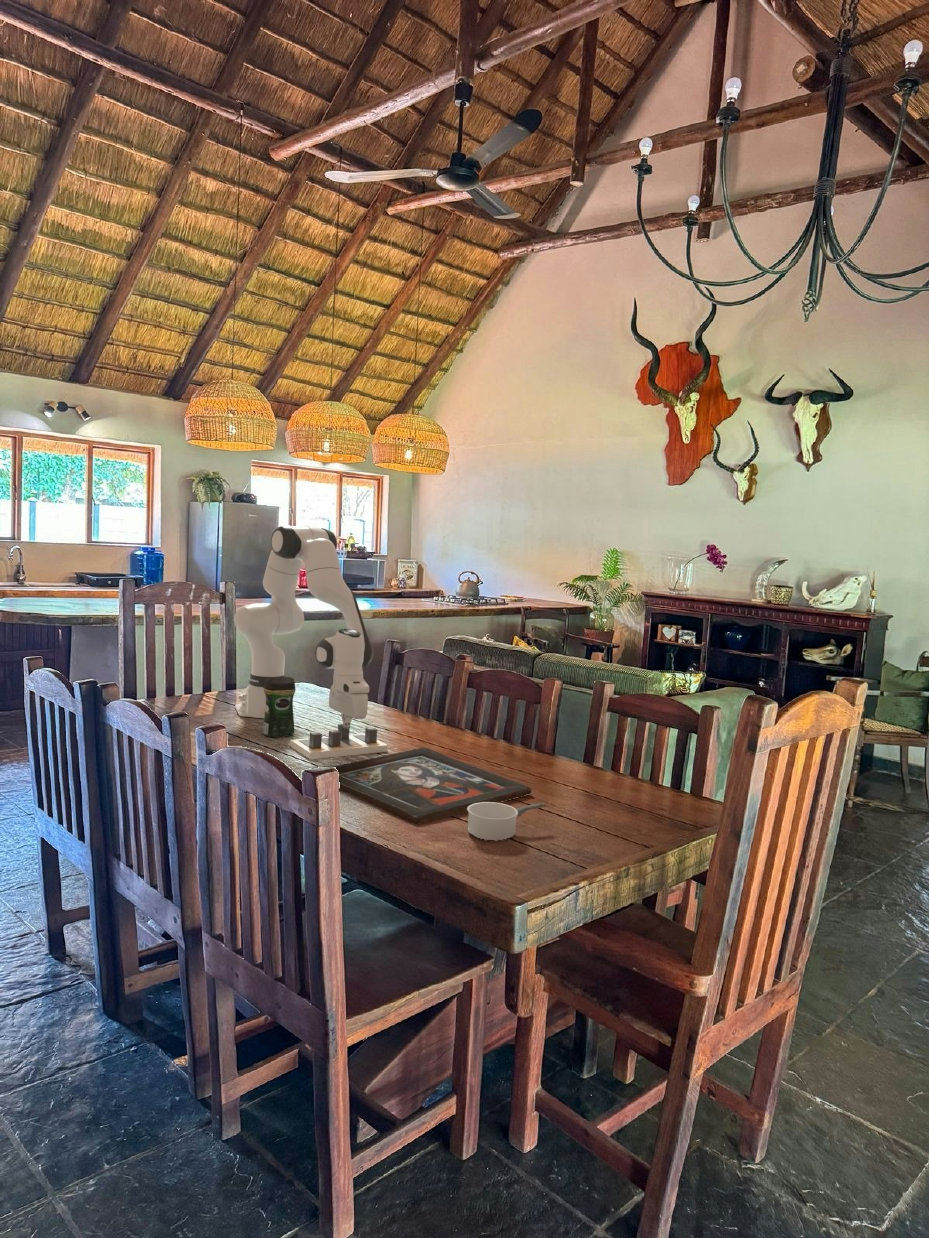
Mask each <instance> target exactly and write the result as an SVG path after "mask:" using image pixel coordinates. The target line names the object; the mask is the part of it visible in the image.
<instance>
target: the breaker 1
mask: <svg viewBox="0 0 929 1238" xmlns="http://www.w3.org/2000/svg"><path fill="white" fill-rule="evenodd" d="M322 737H323V735H322V733H321V732H320V731H319V732H318V731H314V732H312V731H311V732H309V746H310V747H312V748H321V741H322Z"/></svg>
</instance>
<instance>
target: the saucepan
mask: <svg viewBox="0 0 929 1238" xmlns="http://www.w3.org/2000/svg"><path fill="white" fill-rule="evenodd" d="M544 807H546V803H544V802H539V803H535V804H529V805H524V806H520V807H519V808H517V807H516V808H515V807H514V806H512V805H509V804H505V803H503V802H502V803H495V802H480V803H475V804H472V805H470V806H468V808H467V810H468V817H467V831H468V833H469V834H470V835H472V836H474V837H475V838H476V839H477V838H478V839H479V838H480V840H482V839H484V840H483V841H487V840H502V841H504V840H503V839H505V840H507V838H508V839H510V838H512V837H514V836H515V835H516V829H517V828H516V825H517V818H519V817H521V816H522V815H523V814H524V813H525V812H526V811H527V812H528V811H531V810H536V809H539V808H544Z"/></svg>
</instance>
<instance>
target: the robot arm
mask: <svg viewBox="0 0 929 1238" xmlns="http://www.w3.org/2000/svg"><path fill="white" fill-rule="evenodd" d="M337 541H338V540H337V536H336V535H335V533H334V532H333V531H331V530H329V529H327V528H318V527H314V526H310V525H309V526H307V525H304V526H303V525H302V526H300V525H288V524H287V525H280V526H278V527H276V528H275V529H274V531H273V533H272V535H271V538H270V545H271V551H270V554H269V557H268V560H267V564H266V567H265V572H264V576H263V578H262V579H263V580H262V585H263V589H264V591H266V593H268V594H269V595H270V596H271V597H270V598H271V599H270V602H268V603H266V602H265V603H262V602H261V603H260V602H259V603H249V604H246V605H245V604H244V605H242V606H240V607H238V608H237V610H236V612H235V614H234V625H235V626H234V627H236V629H237V631H238V632H239V633H240V634H241V635H242V636H243V638H245V639H246V641H247V643H248V645H249V648H250V653H251V673H250V674H249V679H248V680H249V681H248V685H247V687H246V688H245V689H244V690H243V691H242V693H241V694H239V695H238V700H239V702H241V703H237V704H235V706H234V708H235V710H236V712H237V714H238V716H239V717H250V718H255V719H264V715H265V707H266V695H265V692H264V685H265V680H266V678H269V677H286V674H285V660H286V657H285V656H286V655H285V652H284V651H283V649H282V648H281V647H279V646H277V644H275V643H274V637H273V636H275V635H287V634H288V635H289V634H292V633H295V632H298V631H300V630H301V629H302V628H303V625H304V623H305V614H304V612H303V609H302V608H301V607H300V605H298V603H297V602H298V601H297V599H296V588H297V584H298V580H299V576H300V572H301V568H302V563H304V569H305V570H304V571H305V572H304V573H305V578H306V586H307V589H308V592H309V593H310V594H311V595H312V596H313V597H314V598H315V599H317V600H318V601H319V602H320V601H321V602H323V603H326V604H328V605H330V606H332V607H334V608H336V609H337V610H338V611H340V613H341V614H342V615H343V619H344V621H345V624H346V628H342V629H338V630H337V631H336V633H335V634H334V635H332V636H330V637H326V638H322V639H321V640H320V641H319V642H318V643H317V644H316V645H317V646H316V647H315V661H316V662H317V663H318V665H319V666H320V667H321V668H323V669H327V670H328V669H329V670H332V669H333V680H332V681H333V682H332V685H331V686H330V688H329V697H328V706H329V709H332V710H333V711H336V712H338V713H341V716H340V717H341V720H342V724H343V728H345V729H349V728H350V729H351V722H352V719H354V720H365V718H366V717H367V716H368V708H369V707H368V706H369V695H368V693H370V686H369V684H368V683H367V682H366V680H365V679H364V670H363V669H365V668H366V667H368V666H369V664H370V663H371V662H372V660H373V658H374V652H375V651H374V647H373V644H372V642H371V640H370V639H369V636H368V634H367V631H366V627H365V624H364V620H363V617H362V614H361V610H360V608H359V604H358V601H357V598H356V595H355V593H354V591H353V590H352V589H350V588H349V587H348V585H347V584H346V582H345V579H344V578H343V575H342V570H341V564H340V560H339V555H338V553H337V552H338V551H337V549H338V542H337Z"/></svg>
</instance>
